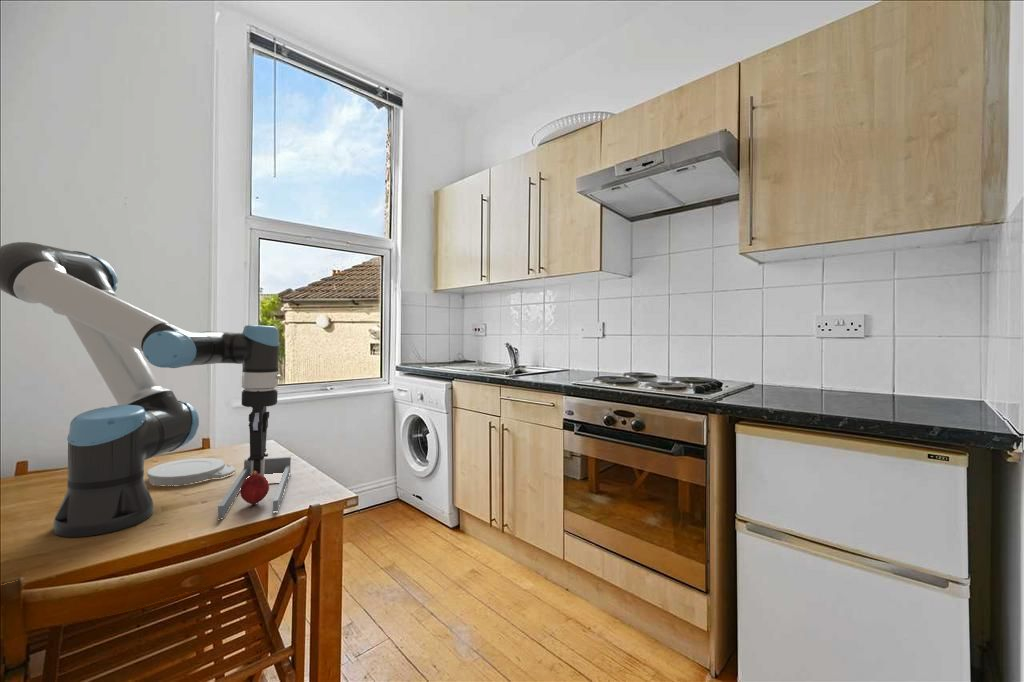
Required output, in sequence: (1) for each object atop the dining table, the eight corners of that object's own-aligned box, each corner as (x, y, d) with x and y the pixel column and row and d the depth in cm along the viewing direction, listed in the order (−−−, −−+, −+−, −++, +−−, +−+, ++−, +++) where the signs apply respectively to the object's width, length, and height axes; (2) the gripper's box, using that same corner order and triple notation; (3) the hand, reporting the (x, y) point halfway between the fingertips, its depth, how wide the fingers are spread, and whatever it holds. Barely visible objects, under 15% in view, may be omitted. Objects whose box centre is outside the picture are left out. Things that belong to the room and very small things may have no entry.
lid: (223, 485, 113) (223, 474, 113) (131, 490, 108) (132, 478, 108) (244, 466, 130) (244, 456, 130) (165, 469, 124) (166, 459, 124)
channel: (217, 520, 92) (218, 496, 92) (244, 477, 119) (245, 459, 119) (277, 513, 97) (278, 491, 97) (290, 473, 124) (290, 456, 124)
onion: (273, 504, 102) (274, 470, 102) (247, 512, 97) (248, 477, 97) (261, 497, 105) (262, 465, 105) (235, 505, 100) (236, 471, 100)
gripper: (274, 392, 100) (271, 493, 100) (280, 385, 112) (277, 475, 112) (236, 392, 97) (233, 496, 97) (246, 385, 109) (244, 478, 109)
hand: (257, 485), depth 104 cm, fingers closed
